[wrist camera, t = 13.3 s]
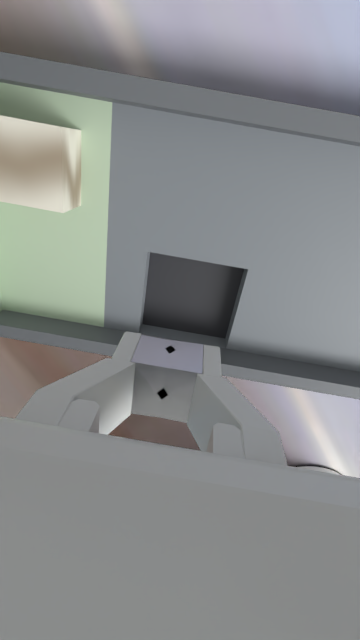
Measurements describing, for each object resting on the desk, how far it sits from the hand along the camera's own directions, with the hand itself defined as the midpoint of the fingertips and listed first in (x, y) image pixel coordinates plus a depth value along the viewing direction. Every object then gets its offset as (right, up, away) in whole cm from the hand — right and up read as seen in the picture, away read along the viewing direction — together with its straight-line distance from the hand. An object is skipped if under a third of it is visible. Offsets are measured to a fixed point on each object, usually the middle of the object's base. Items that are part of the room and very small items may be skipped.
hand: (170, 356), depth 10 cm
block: (-12, +15, +17) cm, 26 cm away
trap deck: (+7, +8, +22) cm, 24 cm away
